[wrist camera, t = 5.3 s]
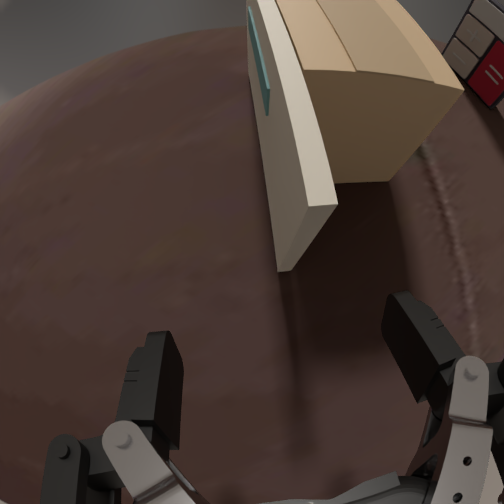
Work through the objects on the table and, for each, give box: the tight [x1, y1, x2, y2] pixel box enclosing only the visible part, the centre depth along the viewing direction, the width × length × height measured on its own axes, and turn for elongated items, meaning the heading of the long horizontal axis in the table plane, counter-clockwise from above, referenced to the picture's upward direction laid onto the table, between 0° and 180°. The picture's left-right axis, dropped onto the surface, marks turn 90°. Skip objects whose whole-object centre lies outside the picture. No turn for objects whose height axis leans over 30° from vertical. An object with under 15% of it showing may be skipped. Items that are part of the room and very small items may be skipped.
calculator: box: [441, 0, 504, 109], centre depth 21 cm, size 11×4×15 cm, turn 35°
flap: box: [246, 0, 338, 272], centre depth 18 cm, size 21×1×13 cm, turn 6°
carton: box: [274, 0, 464, 184], centre depth 19 cm, size 14×10×13 cm
